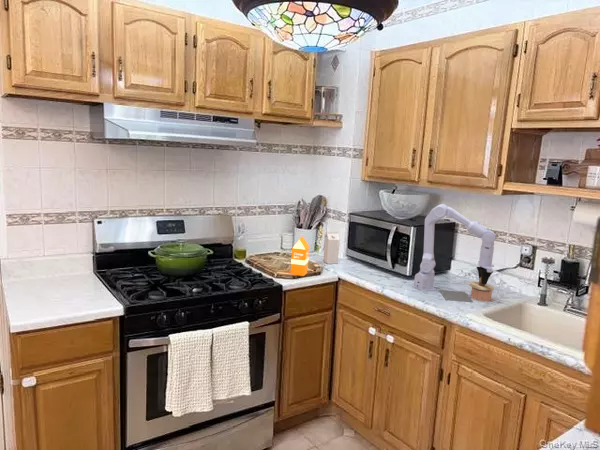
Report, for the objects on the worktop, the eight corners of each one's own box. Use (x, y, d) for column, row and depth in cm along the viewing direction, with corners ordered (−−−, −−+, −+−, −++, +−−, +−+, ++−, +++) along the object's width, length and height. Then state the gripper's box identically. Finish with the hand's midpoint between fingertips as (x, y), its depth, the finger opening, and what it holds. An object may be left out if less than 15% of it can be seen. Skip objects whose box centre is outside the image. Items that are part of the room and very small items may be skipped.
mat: (445, 300, 212) (445, 300, 212) (438, 290, 228) (438, 289, 228) (473, 303, 211) (473, 302, 211) (464, 292, 227) (464, 291, 226)
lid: (483, 291, 210) (485, 281, 209) (464, 284, 219) (466, 274, 218) (498, 290, 216) (500, 280, 215) (479, 283, 225) (481, 273, 224)
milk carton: (323, 261, 275) (325, 230, 272) (334, 260, 277) (336, 230, 273) (326, 264, 268) (328, 233, 265) (337, 263, 270) (340, 233, 267)
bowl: (482, 302, 212) (483, 292, 211) (467, 296, 220) (468, 287, 219) (494, 300, 217) (496, 290, 216) (479, 294, 224) (480, 285, 223)
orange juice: (290, 274, 242) (292, 238, 239) (294, 270, 251) (296, 235, 247) (304, 276, 240) (306, 239, 237) (307, 271, 249) (310, 236, 246)
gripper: (500, 259, 207) (496, 288, 209) (489, 252, 221) (486, 279, 224) (484, 258, 208) (480, 286, 210) (475, 251, 222) (472, 278, 224)
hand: (482, 282), depth 217 cm, fingers closed on lid, 3 cm apart
